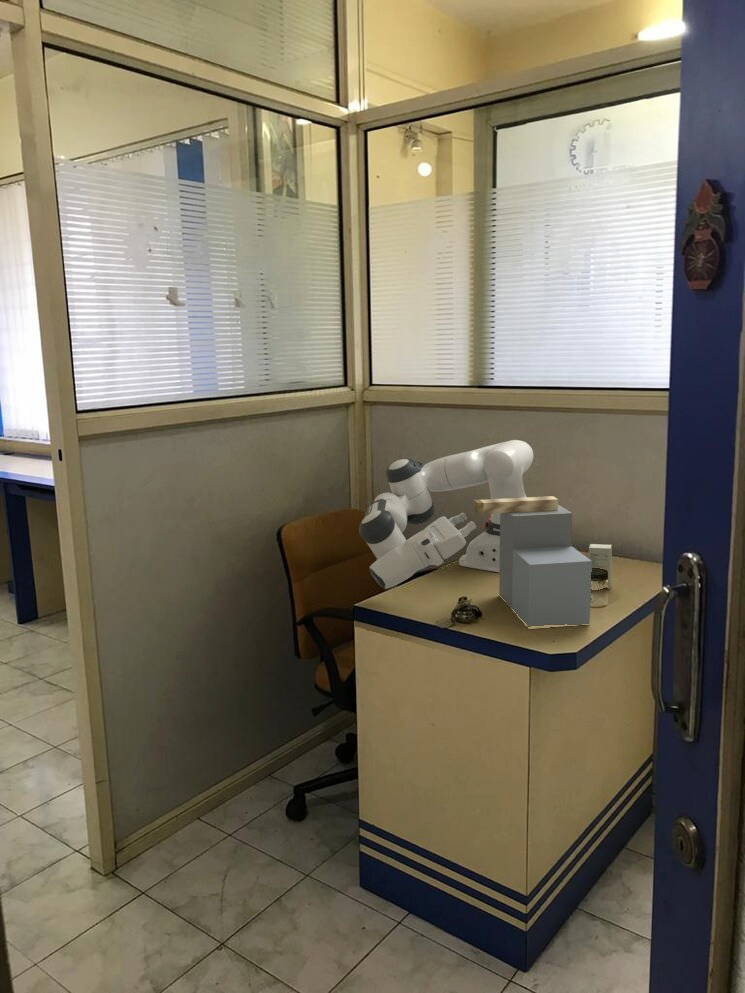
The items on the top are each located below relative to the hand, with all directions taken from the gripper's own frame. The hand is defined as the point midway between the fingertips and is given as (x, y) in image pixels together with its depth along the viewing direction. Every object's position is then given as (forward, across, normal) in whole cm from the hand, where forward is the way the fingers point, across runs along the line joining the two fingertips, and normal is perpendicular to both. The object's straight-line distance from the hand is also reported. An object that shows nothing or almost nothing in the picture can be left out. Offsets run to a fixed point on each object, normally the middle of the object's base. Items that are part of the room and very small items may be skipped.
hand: (470, 519), depth 219 cm
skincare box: (+23, -9, -42) cm, 48 cm away
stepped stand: (+3, +6, -30) cm, 31 cm away
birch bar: (+12, 0, -5) cm, 13 cm away
